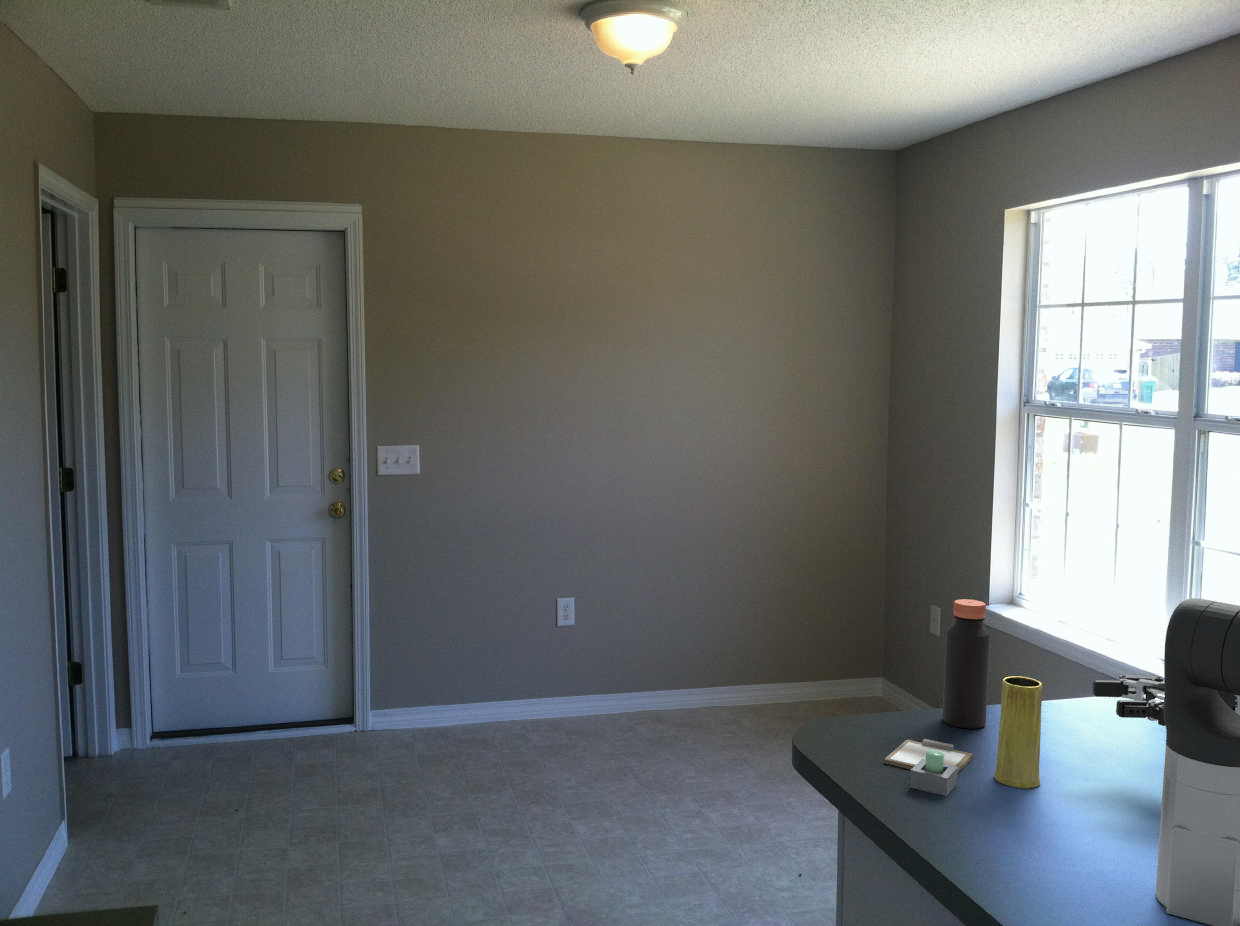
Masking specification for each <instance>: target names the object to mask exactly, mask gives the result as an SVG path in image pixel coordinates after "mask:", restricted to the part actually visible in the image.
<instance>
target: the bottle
mask: <svg viewBox="0 0 1240 926" xmlns="http://www.w3.org/2000/svg"><path fill="white" fill-rule="evenodd" d="M986 606H987V604H986V603H985V602H984V601H980V600H976V599H965V598H964V599H963V598H961V599H956V600H954V601H953V613H952V615H953V619H954V623H953V624H952V625H950V627H949V628H948V629H946V632H945V633H946V635H945V636H946V637H945V656H944V657H945V658H944V674H943V675H944V676H943V693H942V694H943V696H942V697H943V699H942V716H941V717H942V721H943V722H944V723H945V724H947V725H949V726H951V727H954V728H960V729H964V730H965V729H966V730H967V729H969V730H975V729H976V730H977V729H981V728H983V727H984V726H985V725H986V722H987V705H988V693H989V692H988V691H989V690H988V687H989V685H988V684H989V671H990V651H991V650H990V648H991V634H990V632H989V631H988V630H987V629H986V628H985V626H984V625H983V623H984V622H985V620H986V609H987V608H986Z"/></svg>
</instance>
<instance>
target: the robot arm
mask: <svg viewBox="0 0 1240 926" xmlns="http://www.w3.org/2000/svg"><path fill="white" fill-rule="evenodd" d="M1167 624H1168V625H1167V628H1166V633H1165V640H1164V655H1163V656H1164V658H1163V661H1164V663H1163V664H1164V665H1163V666H1164V671H1163V673H1164V676H1163V677H1162V676H1158V675H1155V676H1154V675H1129V674H1127V675H1126V674H1120V675H1119V676H1118V677H1119V678H1118V680H1104V679H1103V680H1101V679H1100V680H1094V681H1093V682H1092V695H1094V697H1096V698H1097V697H1099V698H1122V699H1119V700H1116V704H1115V705H1116V707H1115V714H1116V715H1117V716H1118V717H1119V718H1122V719H1123V718H1126V719H1127V718H1128V719H1131V718H1132V719H1146V720H1148V721H1151V722H1157V724H1158V725H1159V726H1163V727H1165V729H1166V732H1165V733H1166V734H1165V735H1166V736H1165V737H1166V738H1165V753H1164V766H1163V776H1162V777H1163V779H1162V780H1163V781H1162V791H1161V792H1162V793H1161V795H1162V796H1161V808H1160V818H1159V819H1160V822H1159V834H1158V835H1159V836H1158V849H1157V865H1156V866H1157V867H1156V880H1155V881H1156V882H1155V896H1156V899H1157V900H1158V901H1159V903H1161V904H1162V905H1163V906H1164V907H1165V913H1167V914H1169V915H1172V916H1176V917H1180V918H1184V919H1187V920H1191V921H1194V922H1199V923H1202V924H1205V925H1210V926H1240V605H1236V604H1232V603H1226V602H1222V601H1221V602H1220V601H1216V600H1211V599H1204V598H1195V597H1194V598H1186V599H1184V600H1183V601H1181V602H1180V603H1179V604H1178V605H1177V606H1176V607H1175V608H1174V609H1173V612H1172V614H1171V616H1170V617H1169V621H1168V623H1167ZM1129 686H1130V687H1134V688H1129Z"/></svg>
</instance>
